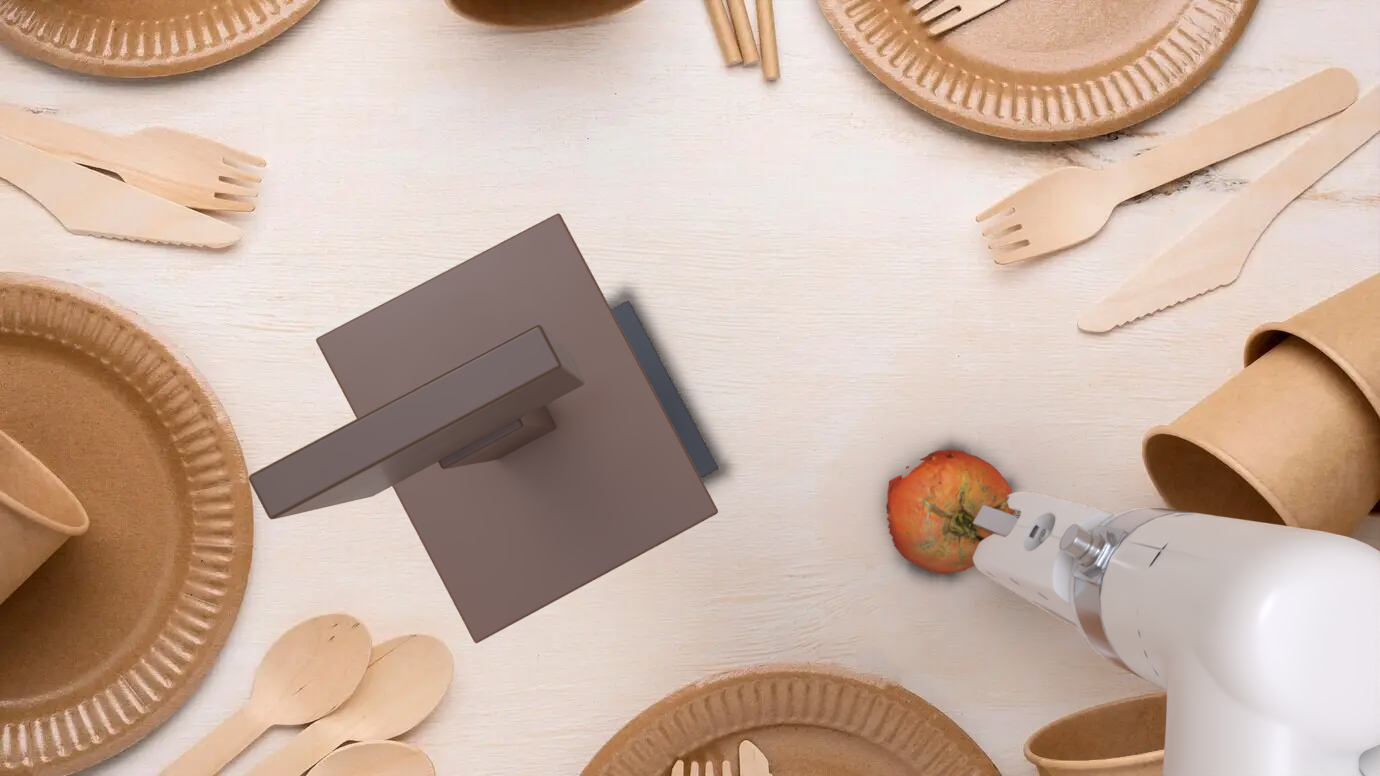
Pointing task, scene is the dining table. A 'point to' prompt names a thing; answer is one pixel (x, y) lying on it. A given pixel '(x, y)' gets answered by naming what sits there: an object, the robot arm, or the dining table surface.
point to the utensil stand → (507, 429)
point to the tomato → (943, 509)
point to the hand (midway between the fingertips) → (1020, 549)
